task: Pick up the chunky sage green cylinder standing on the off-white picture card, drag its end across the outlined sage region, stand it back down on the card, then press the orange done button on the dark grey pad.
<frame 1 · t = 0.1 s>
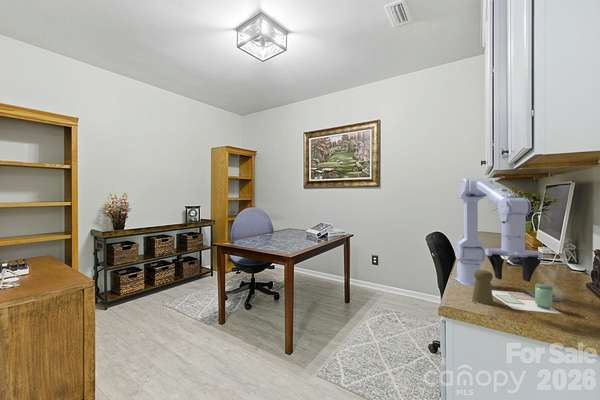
hand: (512, 279, 79), 10 cm above the worktop, tool pointing down, fingers open, 7 cm apart
cork: (482, 303, 86), on the worktop
done button: (543, 288, 91), point 4 cm above the worktop, slide at 0.0 cm
green cylinder: (543, 307, 82), point 1 cm above the worktop, touching picture card
button pad: (543, 298, 91), on the worktop
picture card: (519, 301, 87), on the worktop
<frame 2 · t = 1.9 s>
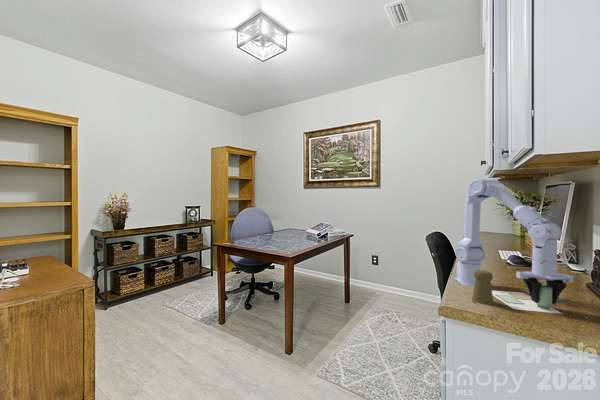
hand: (543, 302, 82), 2 cm above the worktop, tool pointing down, fingers closed on green cylinder, 4 cm apart
green cylinder: (543, 307, 82), point 1 cm above the worktop, touching gripper, picture card
everything else where it was.
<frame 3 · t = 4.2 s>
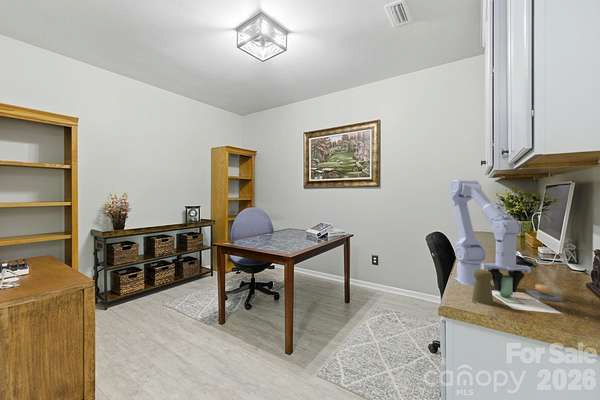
hand: (505, 291, 90), 3 cm above the worktop, tool pointing down, fingers closed on green cylinder, 4 cm apart
green cylinder: (505, 295, 90), point 1 cm above the worktop, touching gripper
everything else where it was.
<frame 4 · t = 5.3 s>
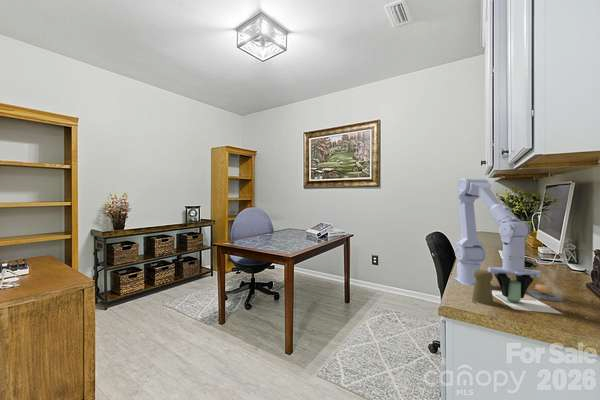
hand: (512, 296, 86), 2 cm above the worktop, tool pointing down, fingers closed on green cylinder, 4 cm apart
green cylinder: (512, 301, 86), point 1 cm above the worktop, touching gripper
everything else where it was.
when the fingers open (3 cm above the worktop, at t = 6.3 s): green cylinder drops 1 cm, resting on picture card.
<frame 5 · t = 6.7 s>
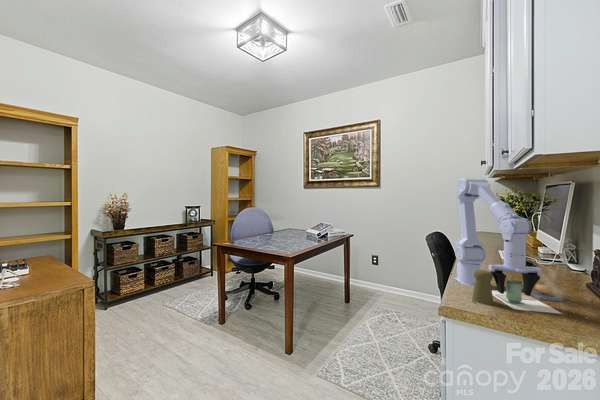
hand: (513, 293, 86), 3 cm above the worktop, tool pointing down, fingers open, 7 cm apart
green cylinder: (513, 301, 86), point 1 cm above the worktop, touching picture card
everything else where it was.
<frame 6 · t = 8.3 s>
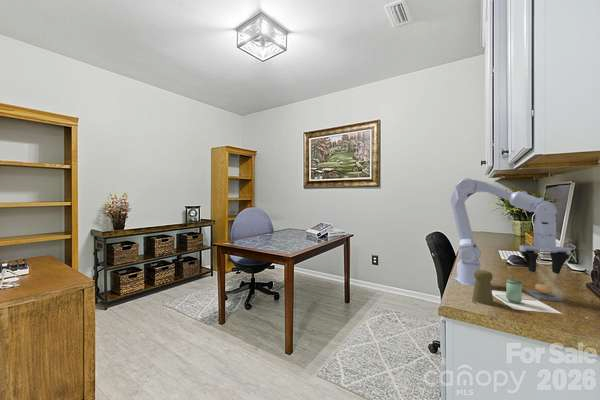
hand: (543, 272, 91), 9 cm above the worktop, tool pointing down, fingers open, 7 cm apart
nothing on the worktop moved.
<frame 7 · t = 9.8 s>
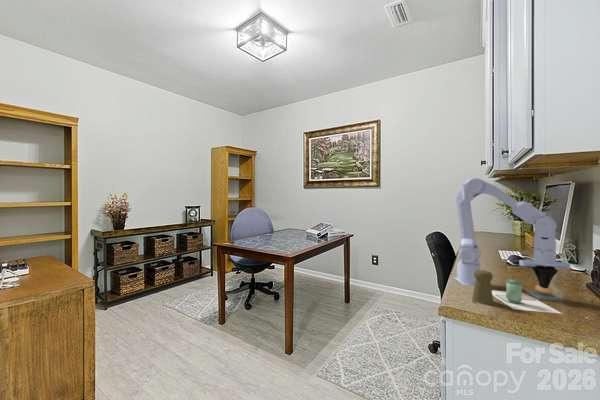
hand: (543, 287, 91), 4 cm above the worktop, tool pointing down, fingers closed, pressing on done button
done button: (543, 289, 91), point 3 cm above the worktop, slide at 0.4 cm, touching gripper
everything else where it was.
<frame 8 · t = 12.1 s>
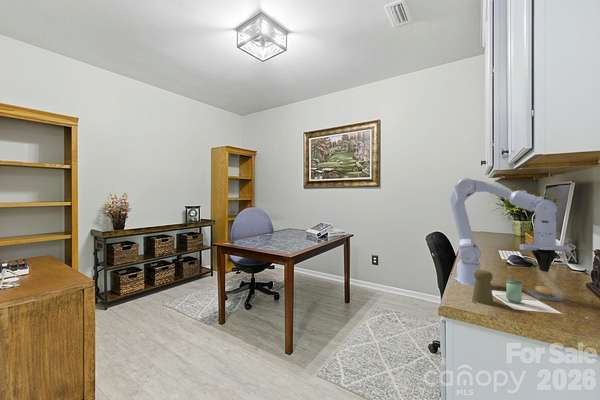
hand: (544, 271, 91), 10 cm above the worktop, tool pointing down, fingers closed
done button: (543, 290, 91), point 3 cm above the worktop, slide at 0.7 cm
everything else where it was.
at the end: done button slide at 0.7 cm; green cylinder inside the target area (2.6 cm from its centre), point 0.7 cm above the worktop; the gripper is holding nothing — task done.
